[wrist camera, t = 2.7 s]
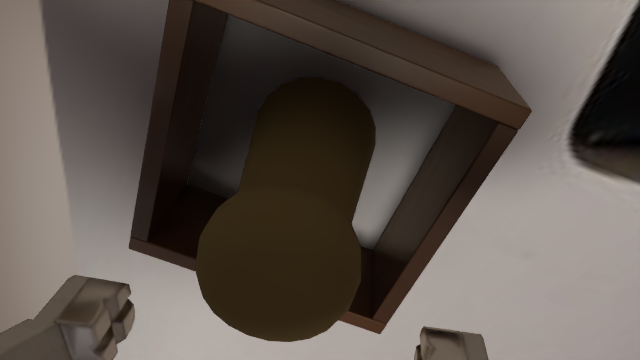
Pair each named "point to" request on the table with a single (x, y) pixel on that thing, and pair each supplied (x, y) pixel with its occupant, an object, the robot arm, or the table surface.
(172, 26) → the box
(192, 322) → the table surface
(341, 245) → the cork
